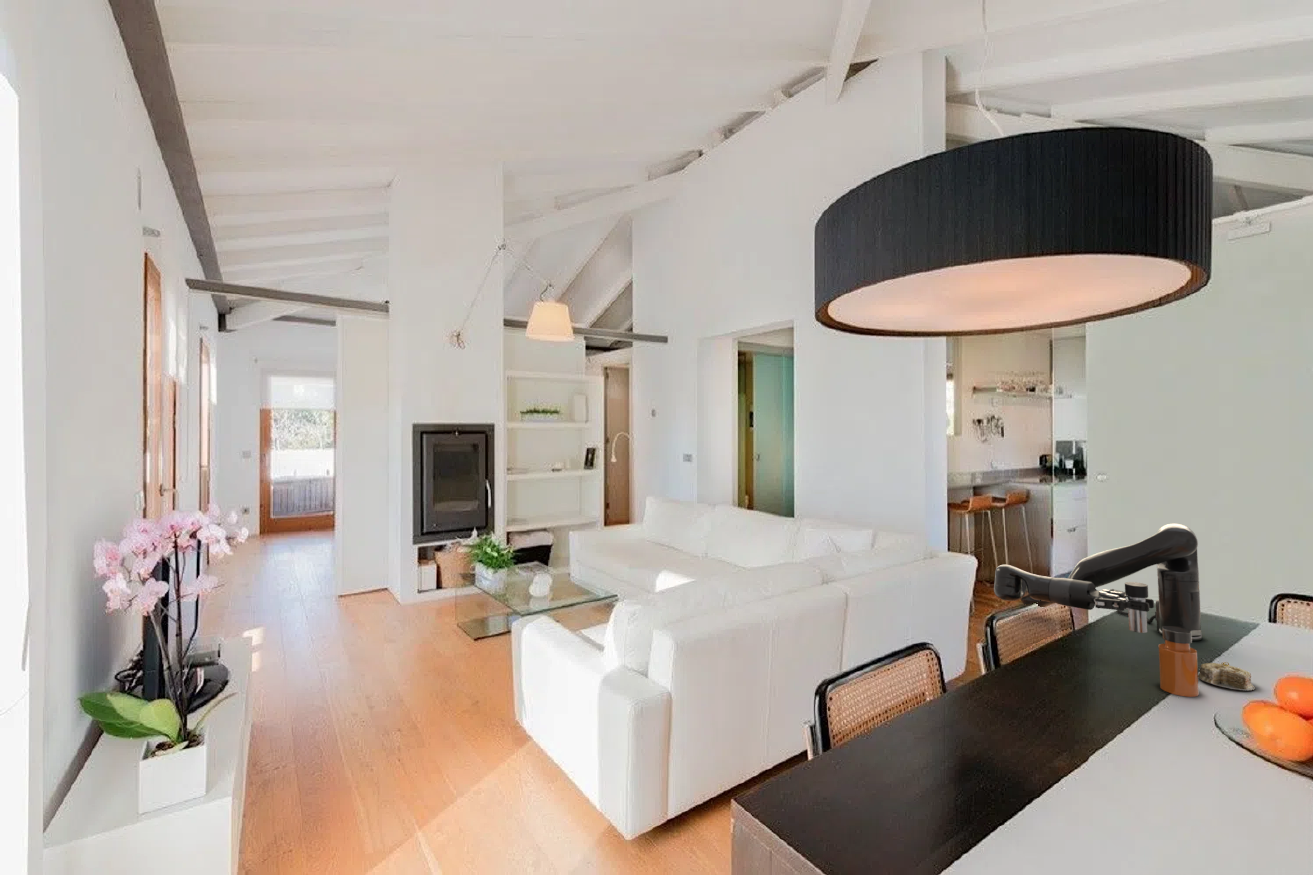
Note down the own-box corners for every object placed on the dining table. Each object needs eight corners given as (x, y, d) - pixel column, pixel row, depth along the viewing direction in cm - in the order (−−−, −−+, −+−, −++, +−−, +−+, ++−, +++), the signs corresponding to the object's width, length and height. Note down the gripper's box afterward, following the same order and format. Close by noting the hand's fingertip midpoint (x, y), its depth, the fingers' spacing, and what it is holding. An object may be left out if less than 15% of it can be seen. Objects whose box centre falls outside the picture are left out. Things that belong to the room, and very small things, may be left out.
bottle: (1152, 685, 140) (1150, 625, 140) (1179, 683, 140) (1177, 624, 140) (1178, 697, 133) (1175, 634, 133) (1207, 696, 133) (1204, 633, 133)
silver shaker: (1122, 628, 151) (1120, 582, 151) (1139, 627, 151) (1137, 581, 151) (1137, 633, 146) (1135, 586, 146) (1154, 633, 146) (1152, 586, 146)
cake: (1190, 674, 146) (1189, 653, 146) (1243, 681, 142) (1241, 658, 142) (1207, 687, 137) (1206, 664, 137) (1264, 694, 133) (1263, 670, 133)
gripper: (1081, 601, 164) (1159, 614, 151) (1062, 611, 156) (1143, 626, 142) (1080, 575, 164) (1158, 586, 151) (1061, 584, 156) (1142, 596, 142)
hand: (1150, 605), depth 146 cm, fingers closed on silver shaker, 3 cm apart
